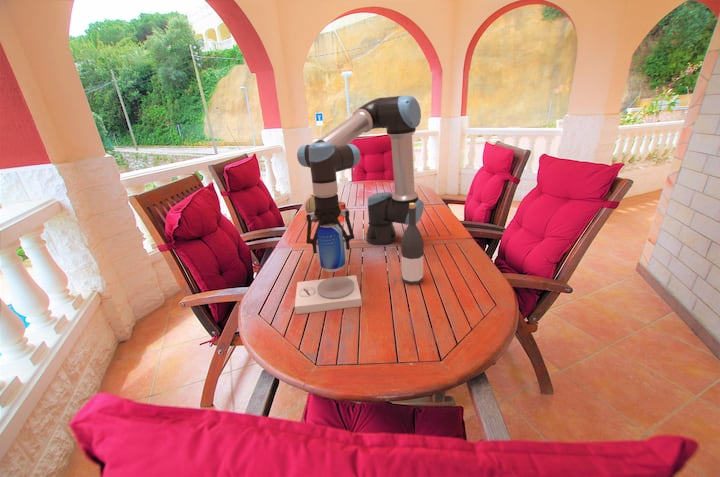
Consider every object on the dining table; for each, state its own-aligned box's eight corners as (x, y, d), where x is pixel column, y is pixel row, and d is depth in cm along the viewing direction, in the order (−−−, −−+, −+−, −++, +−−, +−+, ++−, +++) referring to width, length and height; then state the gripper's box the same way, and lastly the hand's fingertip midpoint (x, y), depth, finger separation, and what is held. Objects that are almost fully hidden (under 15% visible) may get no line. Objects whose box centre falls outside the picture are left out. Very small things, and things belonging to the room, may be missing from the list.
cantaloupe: (329, 222, 187) (327, 197, 181) (305, 223, 187) (301, 198, 181) (332, 214, 200) (329, 191, 195) (309, 215, 201) (306, 192, 195)
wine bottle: (409, 287, 115) (409, 208, 103) (397, 278, 121) (395, 203, 110) (427, 281, 118) (429, 204, 106) (414, 272, 125) (414, 198, 113)
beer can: (349, 262, 110) (345, 219, 104) (340, 274, 103) (335, 228, 97) (327, 260, 113) (322, 218, 107) (316, 271, 106) (311, 226, 100)
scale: (356, 282, 121) (355, 272, 119) (361, 306, 106) (361, 295, 104) (298, 289, 119) (296, 279, 117) (295, 314, 104) (293, 303, 102)
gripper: (358, 188, 103) (362, 251, 111) (292, 194, 101) (301, 258, 109) (360, 194, 96) (365, 261, 104) (290, 200, 94) (300, 268, 102)
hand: (332, 259), depth 107 cm, fingers closed on beer can, 8 cm apart
